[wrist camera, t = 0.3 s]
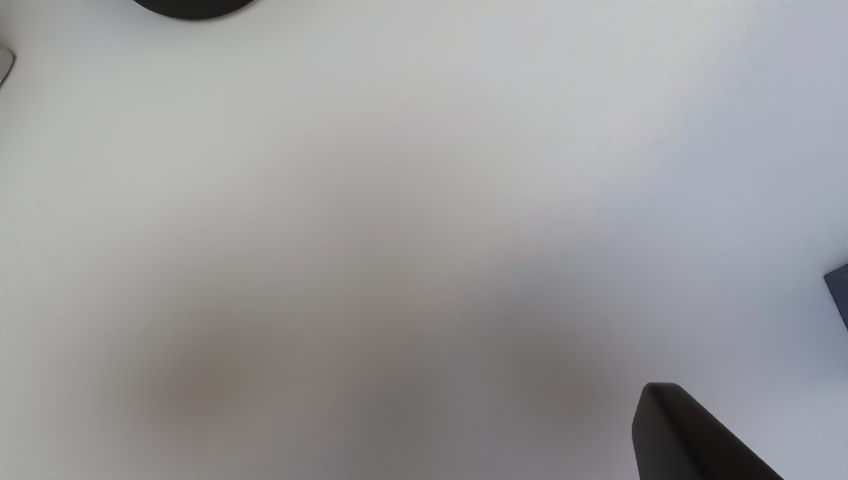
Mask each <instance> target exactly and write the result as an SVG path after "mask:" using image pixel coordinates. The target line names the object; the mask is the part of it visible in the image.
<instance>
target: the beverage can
mask: <svg viewBox="0 0 848 480" xmlns="http://www.w3.org/2000/svg"><path fill="white" fill-rule="evenodd" d="M134 1H135V2H137V3H138V4H140V5H142V6H143V7H145V8H147V9H149V10H151V11H154V12H156V13H159V14H162V15H165V16H169V17H173V18H179V19H208V18H214V17H219V16H222V15H225V14H228V13H231V12H233V11H236V10H238V9H240V8H242V7H244V6H245V5H247V4H248V3H250V2H251V1H253V0H134Z"/></svg>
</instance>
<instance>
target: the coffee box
mask: <svg viewBox="0 0 848 480" xmlns="http://www.w3.org/2000/svg"><path fill="white" fill-rule="evenodd" d="M12 63H13V56H12V54H11V52H10V51H9V50H8V49H7V48H6V47H4V46H3V45H1V44H0V83H1V81H2V80H3V78H4V77H5V75H6V73H7V72H8V70H9V68H10V67H11V65H12Z"/></svg>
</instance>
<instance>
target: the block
mask: <svg viewBox="0 0 848 480" xmlns="http://www.w3.org/2000/svg"><path fill="white" fill-rule="evenodd" d="M824 277H825V279H826V282H827V284H828V286H829V288H830V290H831V292H832V295H833V297H834V299H835V301H836V303H837V305H838V308H839V310H840V312H841V314H842V316H843V319H844V321H845V323H846V325H847V327H848V264H847V265H845V266H843V267H841V268H839V269H837V270H835V271H833V272H831V273H829V274H827V275H825V276H824Z"/></svg>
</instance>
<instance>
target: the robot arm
mask: <svg viewBox="0 0 848 480" xmlns="http://www.w3.org/2000/svg"><path fill="white" fill-rule="evenodd" d="M632 440H633V445H634V450H635V455H636V461H637V466H638V471H639V476H640V480H784V479H783V478H782V477H780V476H779V475H778V474H777V473H776V472H775V471H774V470H773V469H772V468H770V467H769V466H768V465H767V464H766V463H765V462H764V461H763V460H762V459H760V458H759V457H758V456H757V455H756V454H755V453H754V452H753V451H752V450H750V449H749V448H748V447H747V446H746V445H745V444H744V443H743V442H742V441H740V440H739V439H738V438H737V437H736V436H735V435H734V434H733V433H732V432H731V431H729V430H728V429H727V428H726V427H725V426H724V425H723V424H722V423H721V422H719V421H718V420H717V419H716V418H715V417H714V416H713V415H712V414H711V413H709V412H708V411H707V410H706V409H705V408H704V407H703V406H702V405H701V404H699V403H698V402H697V401H696V400H695V399H694V398H693V397H692V396H691V395H690V394H688V393H687V392H686V391H685V390H684V389H683V388H682V387H680V386H679V385H677V384H675V383H648V384H646V385H645V387H644V388H643V391H642V394H641V397H640V400H639V403H638V406H637V410H636V413H635V416H634V419H633V423H632Z"/></svg>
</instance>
